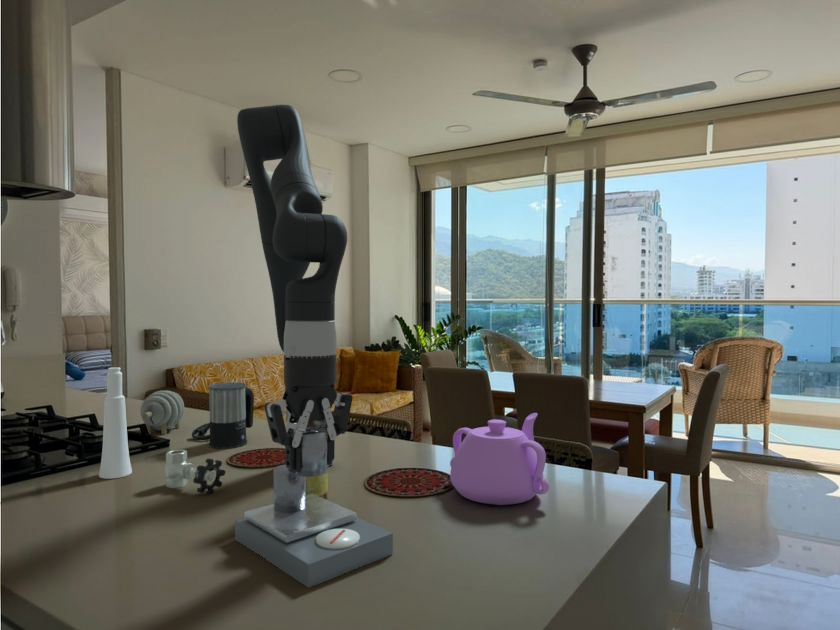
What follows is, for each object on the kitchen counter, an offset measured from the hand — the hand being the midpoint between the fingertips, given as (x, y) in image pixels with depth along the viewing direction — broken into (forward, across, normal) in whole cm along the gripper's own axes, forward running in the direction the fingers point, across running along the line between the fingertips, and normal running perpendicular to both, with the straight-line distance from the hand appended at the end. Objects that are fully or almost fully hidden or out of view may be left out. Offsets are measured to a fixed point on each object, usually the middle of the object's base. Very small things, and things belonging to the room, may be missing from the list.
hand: (310, 467), depth 85 cm
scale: (+12, 0, 0) cm, 12 cm away
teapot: (+12, -40, +4) cm, 42 cm away
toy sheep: (+12, -11, -90) cm, 91 cm away
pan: (+8, 0, -3) cm, 9 cm away
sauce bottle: (+12, -10, -16) cm, 22 cm away
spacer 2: (+1, 0, 0) cm, 1 cm away
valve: (+12, +2, -38) cm, 40 cm away
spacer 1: (+7, 0, -6) cm, 10 cm away
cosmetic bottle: (+12, +10, -57) cm, 59 cm away
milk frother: (+12, -17, -69) cm, 72 cm away
